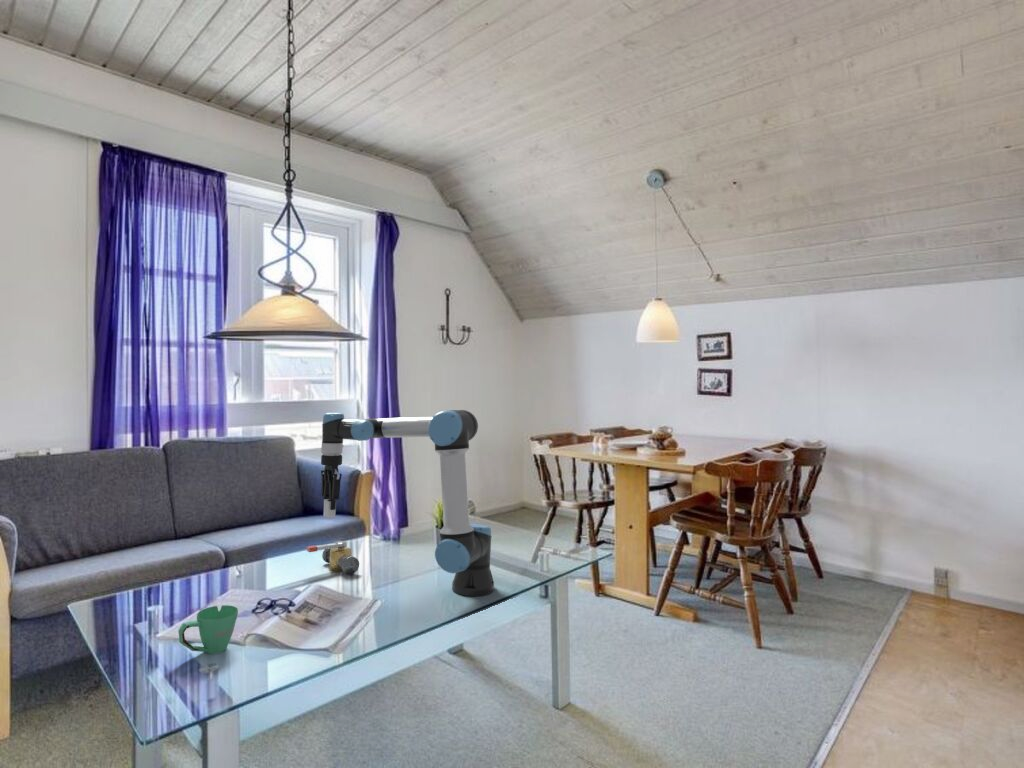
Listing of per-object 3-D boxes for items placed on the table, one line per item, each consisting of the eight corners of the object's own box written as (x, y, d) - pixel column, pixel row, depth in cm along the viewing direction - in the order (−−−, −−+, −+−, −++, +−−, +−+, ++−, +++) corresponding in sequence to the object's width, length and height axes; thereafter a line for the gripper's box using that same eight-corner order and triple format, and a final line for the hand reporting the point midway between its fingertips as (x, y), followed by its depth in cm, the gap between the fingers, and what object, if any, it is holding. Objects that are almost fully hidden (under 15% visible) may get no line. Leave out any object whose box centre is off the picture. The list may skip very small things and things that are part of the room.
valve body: (361, 573, 220) (361, 551, 220) (341, 577, 215) (342, 554, 215) (338, 561, 235) (339, 540, 235) (319, 564, 230) (320, 543, 230)
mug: (224, 638, 160) (225, 602, 160) (243, 648, 154) (245, 611, 154) (168, 657, 148) (170, 618, 148) (187, 669, 142) (189, 628, 142)
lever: (343, 544, 228) (343, 540, 228) (348, 547, 225) (348, 542, 225) (305, 550, 218) (306, 545, 218) (310, 552, 215) (310, 548, 215)
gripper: (350, 456, 211) (348, 520, 211) (332, 451, 223) (330, 512, 223) (331, 456, 206) (328, 522, 206) (313, 452, 218) (311, 514, 218)
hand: (329, 517), depth 214 cm, fingers open, 3 cm apart
